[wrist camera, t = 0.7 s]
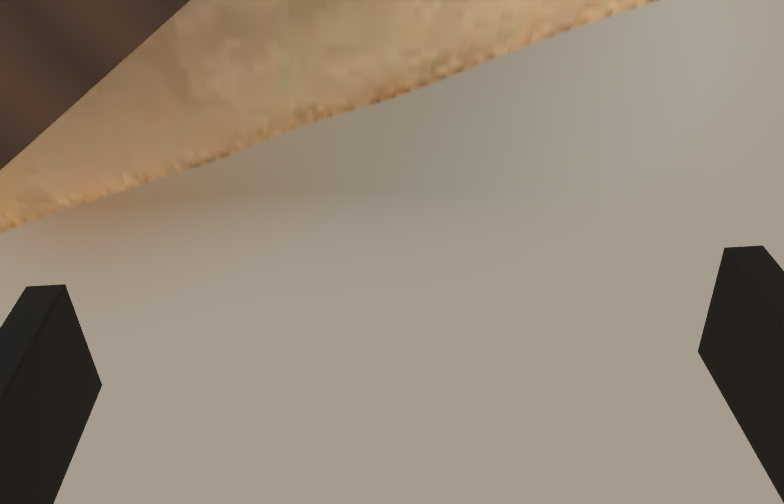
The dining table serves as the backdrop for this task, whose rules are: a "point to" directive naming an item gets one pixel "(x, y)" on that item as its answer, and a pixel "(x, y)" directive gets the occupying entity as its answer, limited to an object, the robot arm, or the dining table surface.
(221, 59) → the dining table surface
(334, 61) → the dining table surface
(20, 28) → the cabinet
